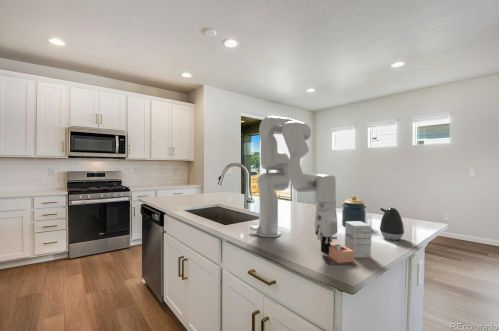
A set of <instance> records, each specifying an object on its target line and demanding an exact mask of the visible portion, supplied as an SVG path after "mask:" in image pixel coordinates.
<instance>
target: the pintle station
mask: <svg viewBox="0 0 499 331" xmlns="http://www.w3.org/2000/svg"><path fill="white" fill-rule="evenodd" d="M341 246H342V245H341V244H338V243H336V245H335V248H336V249H338V250H339V251H341ZM320 255H321V256H322V257H323V259H324V260H325V262H326V264H327V265H328V266H330V265H331V266H357V263H356V262H355V261H354V262H347V263H337V262H336V261H334V260H333V259H331V258H330V257H329V254H326V253H321V254H320Z"/></svg>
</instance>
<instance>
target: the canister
mask: <svg viewBox="0 0 499 331" xmlns="http://www.w3.org/2000/svg"><path fill="white" fill-rule="evenodd" d="M364 204H365V202H364V201H363V200H361V199H359V198H358V199H357V196H355V195H352V196H351V198H346V199H345V200H343V204H341V206H342V210H341V212H342V216H341V218H342V220H341V223H342V224H341V225H342V226H343V227H345V222H346V221H361V222H364V223H366V218H367V217H366V213H367V212H366V208H367V207H366V205H364ZM366 224H367V223H366Z"/></svg>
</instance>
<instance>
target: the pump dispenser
mask: <svg viewBox="0 0 499 331" xmlns="http://www.w3.org/2000/svg"><path fill="white" fill-rule="evenodd" d="M379 210H380V211H381V212H383V215H382V218H381V220H380V225H379V231H380V234H381V236H382V237H383V238H385V239H386V240H389V241H399V240H400V239H402V237H403V235H404V234H405V227H404V221H403V219H402V216H401V214H400V212H399V211H398V209H397V208H394V207H388V208H387V209H385V208H383V207H380V208H379Z"/></svg>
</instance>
